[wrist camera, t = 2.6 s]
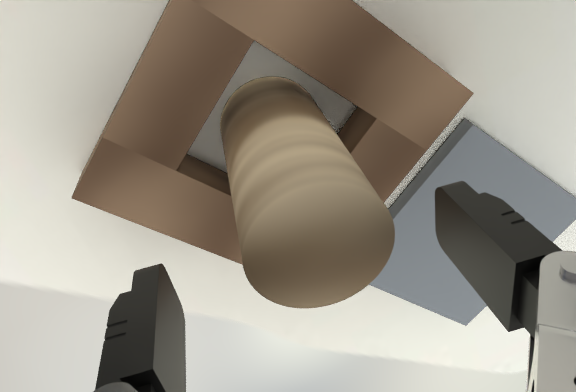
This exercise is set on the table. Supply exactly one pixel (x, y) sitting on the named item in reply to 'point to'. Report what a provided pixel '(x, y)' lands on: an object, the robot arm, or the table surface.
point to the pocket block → (213, 80)
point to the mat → (421, 219)
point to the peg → (300, 199)
